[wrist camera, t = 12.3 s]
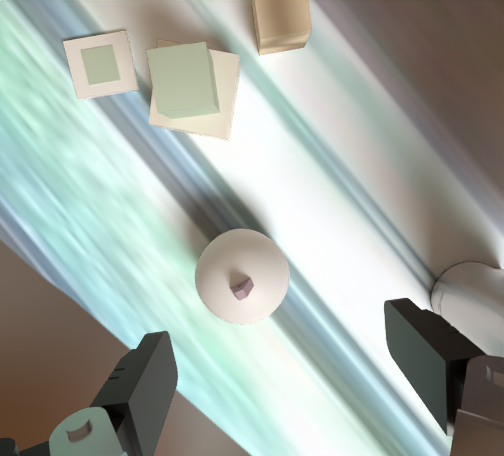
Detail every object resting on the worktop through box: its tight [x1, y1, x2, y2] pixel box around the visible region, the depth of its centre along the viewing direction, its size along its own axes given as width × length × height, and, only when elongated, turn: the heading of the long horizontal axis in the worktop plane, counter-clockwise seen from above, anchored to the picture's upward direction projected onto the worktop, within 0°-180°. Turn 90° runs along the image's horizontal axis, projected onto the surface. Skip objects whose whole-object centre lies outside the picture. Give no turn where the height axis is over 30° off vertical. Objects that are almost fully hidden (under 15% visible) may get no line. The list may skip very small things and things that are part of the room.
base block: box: [149, 39, 241, 141], centre depth 34 cm, size 8×8×5 cm
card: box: [63, 31, 139, 100], centre depth 35 cm, size 7×6×1 cm
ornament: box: [195, 229, 290, 325], centre depth 35 cm, size 10×10×12 cm
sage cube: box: [146, 42, 220, 119], centre depth 29 cm, size 5×5×5 cm
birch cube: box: [252, 0, 312, 56], centre depth 32 cm, size 5×5×5 cm
